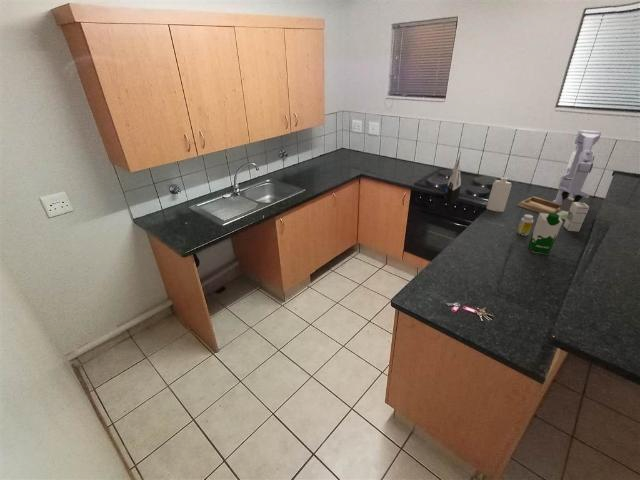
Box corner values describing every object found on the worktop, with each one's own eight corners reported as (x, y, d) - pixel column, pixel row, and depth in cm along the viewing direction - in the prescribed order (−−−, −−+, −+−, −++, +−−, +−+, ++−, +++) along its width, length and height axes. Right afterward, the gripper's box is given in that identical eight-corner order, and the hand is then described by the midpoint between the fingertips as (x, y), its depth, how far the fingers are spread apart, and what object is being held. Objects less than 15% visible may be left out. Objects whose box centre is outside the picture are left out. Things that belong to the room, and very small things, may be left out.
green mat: (561, 211, 191) (562, 210, 191) (575, 215, 186) (575, 214, 186) (552, 216, 185) (552, 215, 185) (565, 220, 180) (565, 219, 180)
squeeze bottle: (486, 206, 198) (485, 209, 194) (495, 175, 188) (494, 178, 184) (504, 209, 193) (503, 212, 190) (513, 178, 183) (513, 180, 180)
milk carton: (529, 253, 151) (544, 215, 141) (525, 244, 159) (539, 207, 148) (550, 256, 149) (567, 218, 139) (545, 247, 156) (561, 210, 146)
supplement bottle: (531, 234, 167) (537, 217, 162) (523, 236, 165) (529, 219, 160) (522, 230, 171) (528, 212, 166) (514, 231, 170) (520, 214, 164)
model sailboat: (459, 192, 218) (469, 148, 203) (457, 205, 199) (468, 158, 184) (444, 190, 222) (453, 147, 206) (441, 203, 202) (451, 156, 187)
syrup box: (579, 231, 169) (590, 206, 162) (566, 230, 170) (577, 206, 163) (574, 226, 174) (585, 202, 166) (562, 225, 175) (572, 201, 167)
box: (565, 206, 186) (569, 197, 183) (572, 209, 184) (577, 199, 181) (559, 209, 183) (563, 199, 180) (567, 211, 180) (571, 201, 177)
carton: (532, 200, 205) (533, 195, 204) (562, 209, 192) (564, 205, 191) (518, 206, 197) (519, 202, 196) (549, 216, 184) (551, 212, 183)
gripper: (559, 181, 179) (550, 203, 186) (589, 188, 168) (579, 211, 175) (565, 178, 182) (556, 200, 189) (595, 185, 172) (584, 208, 179)
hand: (567, 205), depth 182 cm, fingers closed on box, 4 cm apart
